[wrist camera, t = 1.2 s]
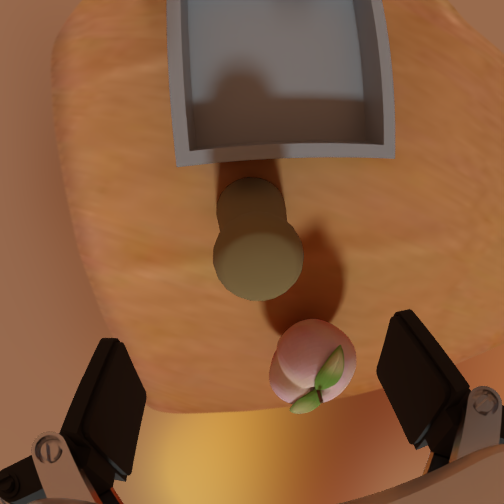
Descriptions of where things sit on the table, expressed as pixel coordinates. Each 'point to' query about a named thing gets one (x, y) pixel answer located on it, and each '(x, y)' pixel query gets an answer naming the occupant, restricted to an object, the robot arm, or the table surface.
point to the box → (279, 80)
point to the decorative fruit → (311, 364)
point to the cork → (255, 241)
